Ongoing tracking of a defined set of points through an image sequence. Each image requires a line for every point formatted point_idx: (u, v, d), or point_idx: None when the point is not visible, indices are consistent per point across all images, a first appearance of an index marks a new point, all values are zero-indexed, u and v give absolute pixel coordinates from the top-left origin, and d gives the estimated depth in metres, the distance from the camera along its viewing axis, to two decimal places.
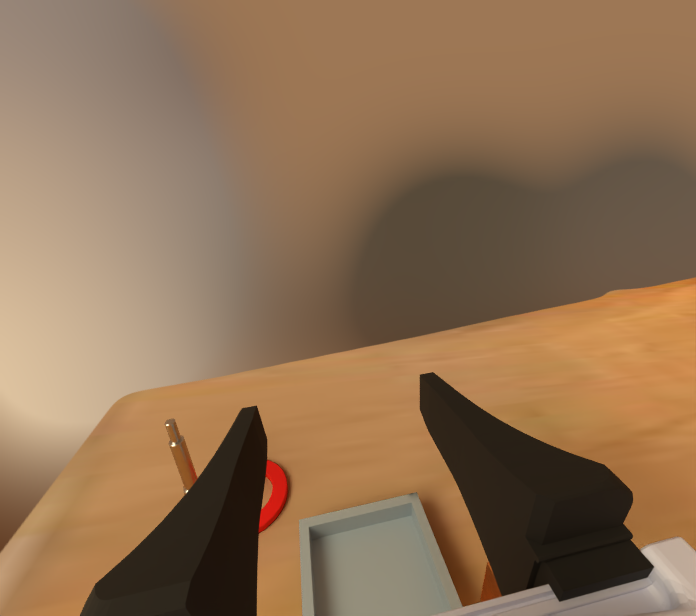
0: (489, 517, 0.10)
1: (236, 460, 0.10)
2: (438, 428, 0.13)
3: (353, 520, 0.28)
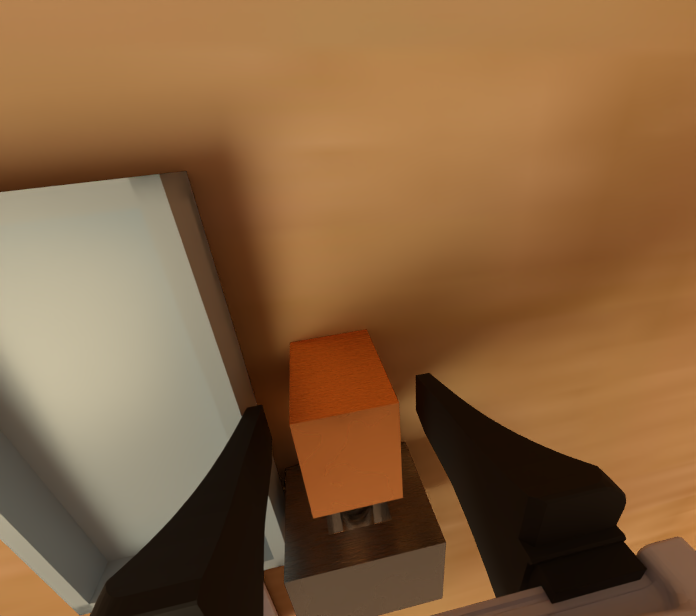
0: (483, 518, 0.10)
1: (243, 458, 0.10)
2: (434, 429, 0.12)
3: None
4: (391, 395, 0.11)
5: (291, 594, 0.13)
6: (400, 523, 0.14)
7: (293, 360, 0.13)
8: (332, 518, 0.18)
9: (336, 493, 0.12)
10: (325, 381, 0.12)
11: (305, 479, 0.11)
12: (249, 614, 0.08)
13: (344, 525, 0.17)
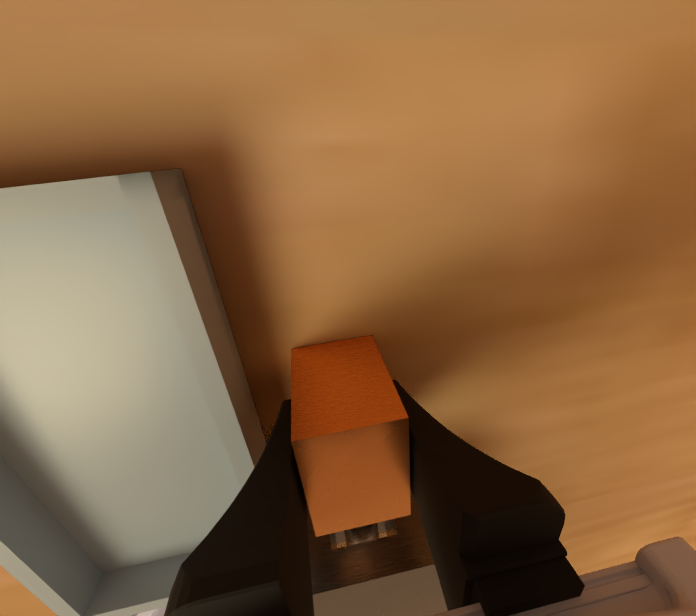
0: (435, 530, 0.09)
1: (290, 449, 0.10)
2: None
3: None
4: (400, 409, 0.10)
5: None
6: (406, 538, 0.14)
7: (295, 368, 0.12)
8: None
9: (341, 510, 0.11)
10: (329, 392, 0.11)
11: (308, 496, 0.10)
12: (306, 600, 0.08)
13: (347, 538, 0.16)
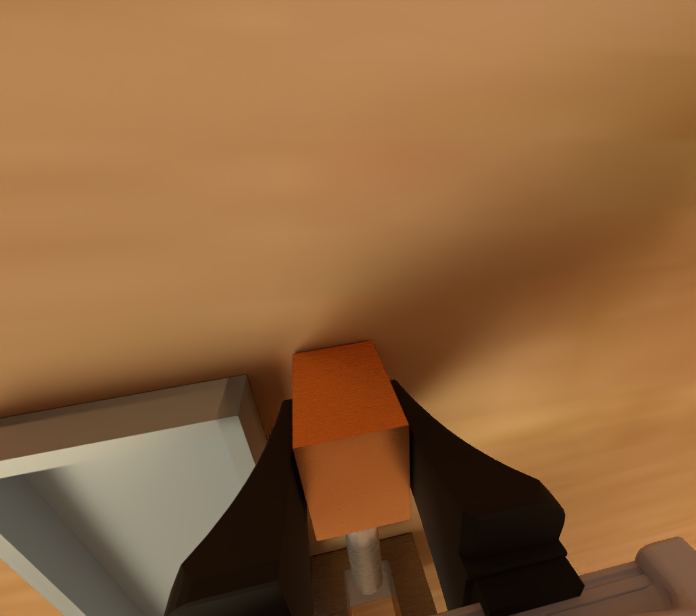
0: (435, 530, 0.09)
1: (290, 449, 0.10)
2: None
3: None
4: (400, 416, 0.10)
5: None
6: None
7: (296, 374, 0.12)
8: (349, 596, 0.22)
9: (341, 516, 0.11)
10: (330, 398, 0.11)
11: (309, 502, 0.11)
12: (305, 600, 0.08)
13: (348, 541, 0.16)
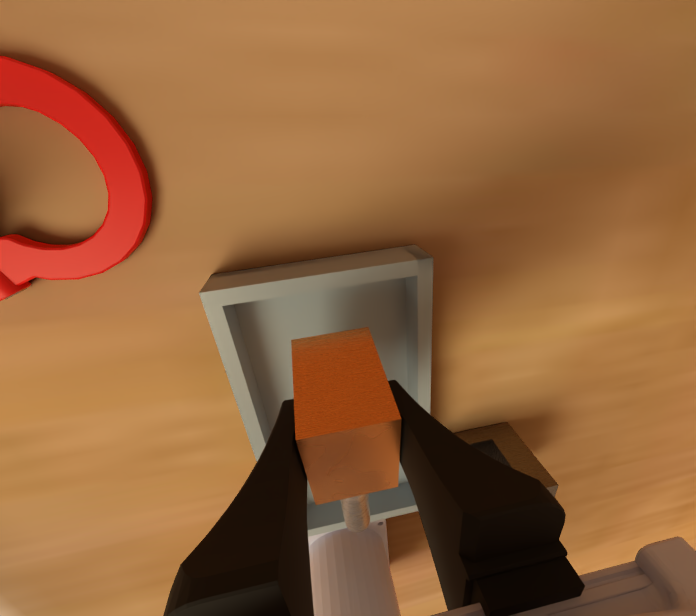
0: (435, 530, 0.09)
1: (290, 449, 0.10)
2: None
3: None
4: (394, 409, 0.11)
5: None
6: None
7: (295, 362, 0.13)
8: None
9: (338, 487, 0.13)
10: (328, 390, 0.12)
11: (310, 478, 0.12)
12: (305, 600, 0.08)
13: None
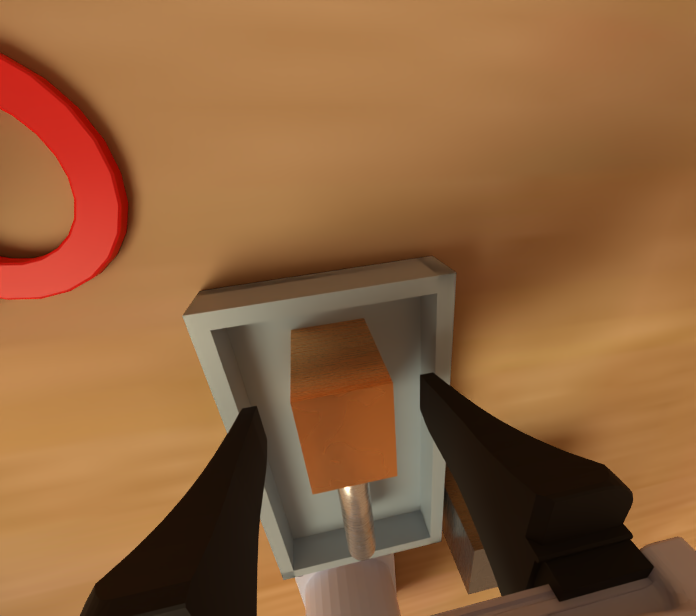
0: (489, 517, 0.10)
1: (236, 460, 0.10)
2: (438, 428, 0.13)
3: None
4: (386, 376, 0.11)
5: (475, 560, 0.18)
6: None
7: (294, 346, 0.14)
8: None
9: (334, 470, 0.12)
10: (324, 364, 0.12)
11: (305, 455, 0.12)
12: None
13: (342, 506, 0.17)
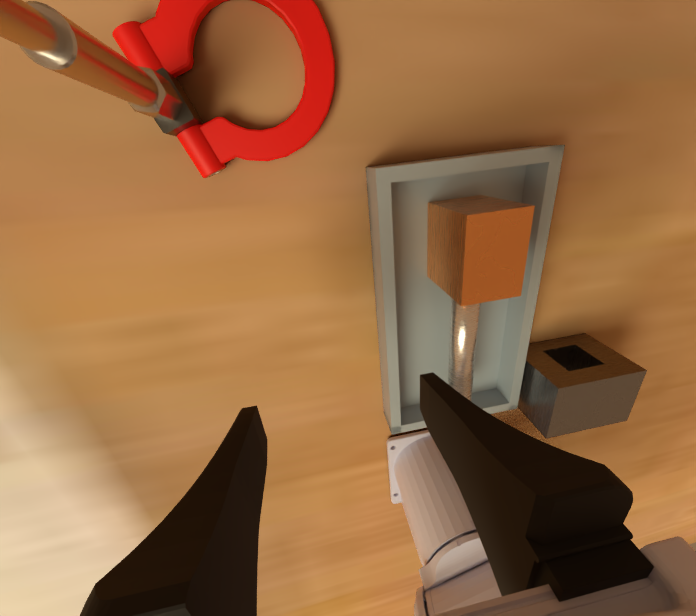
0: (489, 517, 0.10)
1: (236, 460, 0.10)
2: (438, 428, 0.13)
3: None
4: (526, 204, 0.16)
5: (557, 399, 0.23)
6: (611, 365, 0.24)
7: (439, 205, 0.18)
8: None
9: (480, 284, 0.17)
10: (473, 206, 0.17)
11: (465, 266, 0.17)
12: None
13: (455, 353, 0.22)
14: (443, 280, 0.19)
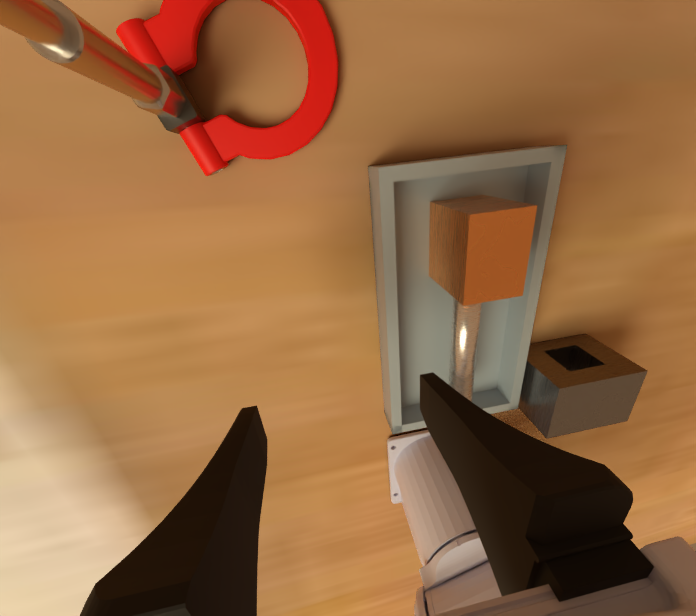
0: (489, 517, 0.10)
1: (236, 460, 0.10)
2: (438, 428, 0.13)
3: None
4: (529, 204, 0.16)
5: (558, 399, 0.23)
6: (612, 365, 0.24)
7: (442, 204, 0.18)
8: None
9: (483, 283, 0.17)
10: (476, 206, 0.17)
11: (467, 266, 0.17)
12: None
13: (456, 353, 0.22)
14: (445, 280, 0.19)
